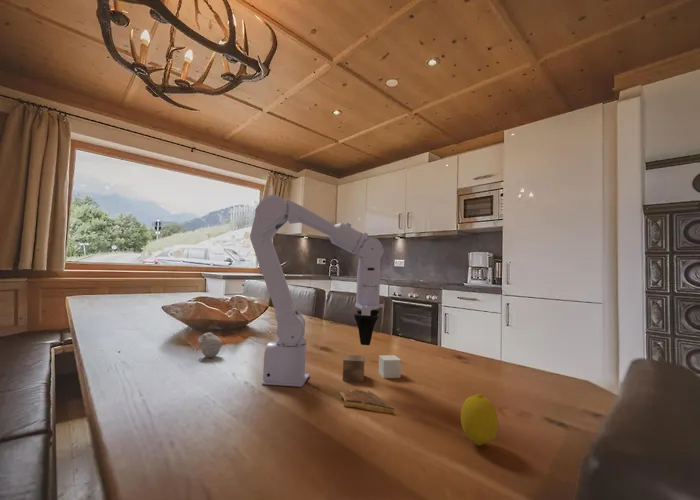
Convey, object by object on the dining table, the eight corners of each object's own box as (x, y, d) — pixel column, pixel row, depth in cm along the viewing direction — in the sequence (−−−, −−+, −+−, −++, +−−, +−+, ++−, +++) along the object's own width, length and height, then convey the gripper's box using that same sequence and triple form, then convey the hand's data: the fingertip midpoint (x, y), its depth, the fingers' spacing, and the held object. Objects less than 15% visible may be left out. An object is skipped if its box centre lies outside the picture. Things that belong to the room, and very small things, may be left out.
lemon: (454, 436, 54) (455, 387, 54) (486, 436, 54) (487, 387, 55) (469, 455, 48) (470, 401, 49) (505, 455, 49) (505, 401, 49)
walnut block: (342, 380, 79) (343, 360, 79) (344, 374, 84) (345, 354, 84) (363, 382, 78) (363, 361, 79) (364, 375, 83) (364, 355, 84)
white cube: (383, 378, 82) (383, 360, 82) (378, 372, 86) (379, 355, 86) (400, 378, 83) (400, 360, 83) (394, 372, 87) (395, 355, 87)
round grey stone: (204, 353, 98) (205, 330, 99) (226, 355, 97) (227, 331, 98) (192, 359, 92) (193, 334, 93) (215, 360, 91) (216, 335, 92)
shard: (394, 416, 62) (394, 407, 62) (358, 423, 58) (358, 413, 58) (367, 395, 71) (367, 387, 71) (335, 400, 68) (335, 391, 68)
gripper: (384, 288, 73) (382, 349, 73) (384, 285, 88) (382, 336, 87) (353, 287, 74) (351, 347, 73) (358, 284, 89) (355, 334, 88)
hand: (366, 341), depth 80 cm, fingers open, 7 cm apart
